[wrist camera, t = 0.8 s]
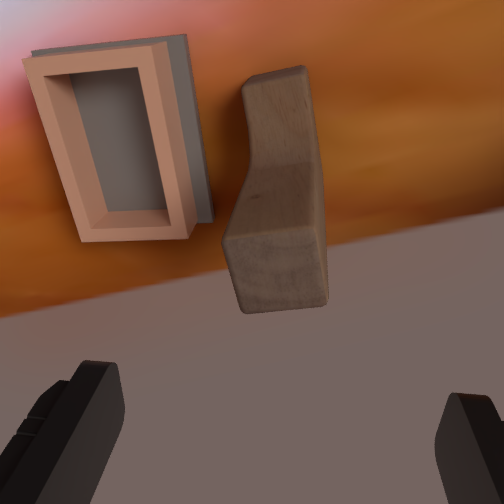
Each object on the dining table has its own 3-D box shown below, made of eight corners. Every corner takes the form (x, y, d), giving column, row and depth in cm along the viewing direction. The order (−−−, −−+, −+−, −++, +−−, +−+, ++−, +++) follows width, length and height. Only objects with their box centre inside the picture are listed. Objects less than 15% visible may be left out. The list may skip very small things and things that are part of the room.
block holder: (186, 33, 32) (168, 38, 28) (214, 217, 40) (204, 241, 36) (38, 49, 34) (3, 56, 30) (91, 222, 41) (68, 245, 38)
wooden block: (247, 76, 33) (189, 143, 18) (306, 63, 32) (299, 122, 17) (270, 186, 37) (240, 318, 22) (323, 177, 36) (330, 309, 21)
